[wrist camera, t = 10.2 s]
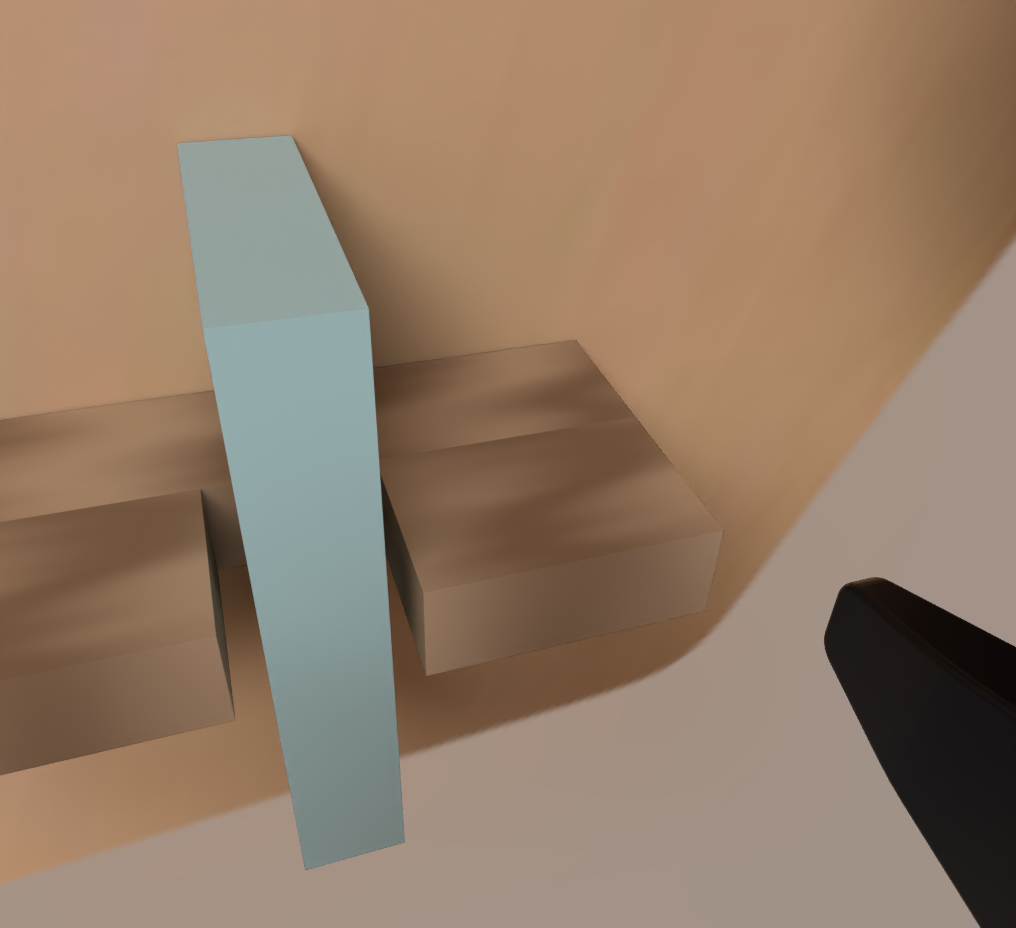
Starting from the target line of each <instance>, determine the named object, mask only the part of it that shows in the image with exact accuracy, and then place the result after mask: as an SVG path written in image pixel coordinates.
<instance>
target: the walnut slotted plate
mask: <svg viewBox="0 0 1016 928" xmlns="http://www.w3.org/2000/svg"><path fill="white" fill-rule="evenodd" d="M373 378H374V393H375V408H376V422H377V437H378V452H379V467H380V482H381V497H382V512H383V526H384V541H385V553H386V556H387V559H388V562H389V565H390V568H391V571H392V574H393V577H394V580H395V583H396V586H397V589H398V592H399V595H400V598H401V601H402V604H403V607H404V610H405V613H406V616H407V619H408V622H409V625H410V628H411V631H412V634H413V637H414V640H415V643H416V646H417V650H418V653H419V656H420V659H421V662H422V665H423V668H424V671H425V674H426V676H429V675H433V674H437V673H442V672H446V671H450V670H455V669H459V668H463V667H467V666H472V665H476V664H480V663H485V662H489V661H493V660H498V659H502V658H506V657H510V656H515V655H519V654H523V653H528V652H532V651H536V650H540V649H545V648H549V647H553V646H558V645H562V644H566V643H571V642H575V641H579V640H583V639H588V638H592V637H596V636H601V635H605V634H609V633H613V632H618V631H622V630H626V629H631V628H635V627H639V626H644V625H648V624H652V623H656V622H661V621H665V620H669V619H674V618H678V617H682V616H687V615H691V614H695V613H699V612H704V611H706V607H707V603H708V598H709V594H710V589H711V585H712V581H713V576H714V572H715V567H716V563H717V558H718V554H719V549H720V545H721V540H722V536H723V532H724V530H723V529H722V528H721V526H720V525H719V524H718V522H717V521H716V520H715V519H714V517H713V516H712V515H711V513H710V512H709V511H708V510H707V508H706V507H705V506H704V504H703V503H702V502H701V501H700V499H699V498H698V497H697V495H696V494H695V493H694V492H693V490H692V489H691V488H690V486H689V485H688V484H687V482H686V481H685V480H684V479H683V477H682V476H681V475H680V473H679V472H678V471H677V470H676V468H675V467H674V466H673V464H672V463H671V462H670V461H669V459H668V458H667V457H666V455H665V454H664V453H663V452H662V450H661V449H660V448H659V446H658V445H657V444H656V443H655V441H654V440H653V439H652V437H651V436H650V435H649V434H648V432H647V431H646V430H645V428H644V427H643V426H642V425H641V423H640V422H639V421H638V419H637V418H636V417H635V416H634V414H633V413H632V412H631V410H630V409H629V408H628V407H627V405H626V404H625V403H624V401H623V400H622V399H621V397H620V396H619V395H618V394H617V392H616V391H615V390H614V388H613V387H612V386H611V385H610V383H609V382H608V381H607V379H606V378H605V377H604V376H603V374H602V373H601V372H600V370H599V369H598V368H597V367H596V365H595V364H594V363H593V361H592V360H591V359H590V358H589V356H588V355H587V354H586V352H585V351H584V350H583V349H582V347H581V346H580V345H579V343H578V342H577V341H576V340H574V341H567V342H560V343H553V344H545V345H538V346H531V347H524V348H517V349H509V350H502V351H495V352H488V353H481V354H473V355H466V356H459V357H452V358H445V359H437V360H430V361H423V362H416V363H409V364H401V365H394V366H387V367H380V368H373ZM242 565H247V560H246V555H245V550H244V544H243V539H242V534H241V528H240V523H239V518H238V513H237V507H236V502H235V497H234V492H233V486H232V481H231V476H230V470H229V465H228V460H227V455H226V449H225V444H224V439H223V433H222V428H221V423H220V418H219V412H218V407H217V402H216V396H215V391H207V392H200V393H192V394H185V395H178V396H171V397H164V398H156V399H149V400H142V401H135V402H128V403H120V404H113V405H106V406H99V407H92V408H84V409H77V410H70V411H63V412H56V413H48V414H41V415H34V416H27V417H20V418H12V419H5V420H0V775H4V774H8V773H12V772H17V771H21V770H25V769H29V768H34V767H38V766H42V765H47V764H51V763H55V762H59V761H64V760H68V759H72V758H77V757H81V756H85V755H90V754H94V753H98V752H102V751H107V750H111V749H115V748H120V747H124V746H128V745H132V744H137V743H141V742H145V741H150V740H154V739H158V738H163V737H167V736H171V735H175V734H180V733H184V732H188V731H193V730H197V729H201V728H205V727H210V726H214V725H218V724H223V723H227V722H231V721H235V713H234V704H233V696H232V687H231V679H230V670H229V662H228V653H227V645H226V636H225V628H224V619H223V611H222V602H221V594H220V585H219V577H218V570H221V569H226V568H232V567H237V566H242Z"/></svg>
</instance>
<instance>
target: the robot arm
mask: <svg viewBox="0 0 1016 928" xmlns="http://www.w3.org/2000/svg"><path fill="white" fill-rule="evenodd" d="M824 644H825V650H826V654H827V657H828V659H829V661H830V663H831V665H832V667H833V670H834V671H835V674H836V676H837V678H838V679H839V682H840V683H841V686H842V688H843V690H844V692H845V694H846V696H847V698H848V700H849V702H850V704H851V706H852V708H853V710H854V712H855V714H856V716H857V718H858V720H859V722H860V724H861V726H862V728H863V730H864V732H865V734H866V736H867V738H868V740H869V742H870V744H871V746H872V748H873V750H874V752H875V754H876V756H877V758H878V760H879V762H880V764H881V766H882V768H883V770H884V771H885V774H886V776H887V777H888V779H889V781H890V783H891V784H892V786H893V788H894V789H895V791H896V793H897V795H898V796H899V798H900V799H901V801H902V803H903V805H904V806H905V808H906V810H907V811H908V813H909V814H910V816H911V817H912V819H913V821H914V822H915V824H916V825H917V827H918V829H919V830H920V832H921V834H922V835H923V837H924V838H925V840H926V841H927V843H928V845H929V846H930V848H931V849H932V851H933V853H934V854H935V856H936V858H937V859H938V861H939V862H940V864H941V865H942V867H943V869H944V870H945V872H946V874H947V875H948V877H949V878H950V880H951V881H952V883H953V885H954V886H955V888H956V889H957V891H958V893H959V894H960V896H961V897H962V899H963V901H964V902H965V904H966V906H967V907H968V909H969V910H970V912H971V913H972V915H973V917H974V918H975V920H976V922H977V923H978V925H979V926H980V928H1016V647H1015V646H1013V645H1011V644H1009V643H1007V642H1005V641H1003V640H1001V639H999V638H997V637H996V636H993V635H992V634H990V633H988V632H986V631H984V630H982V629H980V628H978V627H976V626H974V625H972V624H971V623H969V622H967V621H965V620H963V619H961V618H959V617H957V616H955V615H953V614H951V613H950V612H948V611H946V610H944V609H942V608H940V607H938V606H936V605H934V604H932V603H931V602H929V601H926V600H925V599H923V598H921V597H919V596H917V595H915V594H913V593H911V592H909V591H908V590H906V589H904V588H902V587H900V586H898V585H896V584H894V583H892V582H890V581H888V580H886V579H883V578H878V577H873V578H867V579H863V580H859V581H855V582H850V583H848V584H845V585H844V586H843V587H842V588H841V589H840V591H839V593H838V596H837V599H836V602H835V605H834V608H833V611H832V614H831V617H830V620H829V623H828V626H827V629H826V631H825V636H824Z"/></svg>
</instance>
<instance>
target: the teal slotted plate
mask: <svg viewBox="0 0 1016 928" xmlns="http://www.w3.org/2000/svg"><path fill="white" fill-rule="evenodd" d="M177 149H178V156H179V163H180V170H181V177H182V185H183V192H184V199H185V206H186V213H187V220H188V227H189V235H190V242H191V249H192V256H193V263H194V270H195V277H196V285H197V292H198V299H199V306H200V313H201V320H202V327H203V333H204V338H205V344H206V349H207V354H208V360H209V365H210V370H211V375H212V381H213V386H214V391H215V396H216V402H217V407H218V412H219V418H220V423H221V428H222V433H223V439H224V444H225V449H226V455H227V460H228V465H229V470H230V476H231V481H232V486H233V492H234V497H235V502H236V507H237V513H238V518H239V523H240V528H241V534H242V539H243V544H244V550H245V555H246V560H247V565H248V571H249V576H250V581H251V587H252V592H253V597H254V602H255V608H256V613H257V618H258V624H259V629H260V634H261V639H262V645H263V650H264V655H265V660H266V666H267V671H268V676H269V682H270V687H271V692H272V697H273V703H274V708H275V713H276V719H277V724H278V729H279V734H280V740H281V745H282V750H283V756H284V761H285V766H286V771H287V777H288V782H289V787H290V792H291V798H292V803H293V808H294V814H295V818H296V824H297V829H298V835H299V840H300V845H301V851H302V856H303V861H304V866H305V870H308V869H312V868H315V867H319V866H323V865H326V864H329V863H333V862H336V861H340V860H344V859H347V858H351V857H355V856H358V855H361V854H365V853H368V852H372V851H376V850H379V849H383V848H386V847H390V846H394V845H397V844H401V843H404V842H405V838H404V824H403V808H402V793H401V779H400V764H399V749H398V734H397V719H396V704H395V690H394V675H393V660H392V645H391V630H390V615H389V601H388V586H387V571H386V556H385V541H384V526H383V512H382V497H381V482H380V467H379V452H378V437H377V422H376V408H375V393H374V378H373V363H372V348H371V333H370V319H369V308H368V306H367V303H366V301H365V299H364V297H363V294H362V292H361V290H360V288H359V285H358V283H357V281H356V279H355V276H354V274H353V272H352V270H351V267H350V265H349V263H348V261H347V258H346V256H345V254H344V252H343V249H342V247H341V245H340V243H339V241H338V238H337V236H336V234H335V232H334V229H333V227H332V225H331V223H330V220H329V218H328V216H327V214H326V211H325V209H324V207H323V205H322V202H321V200H320V198H319V196H318V193H317V191H316V189H315V187H314V184H313V182H312V180H311V178H310V175H309V173H308V171H307V169H306V166H305V164H304V162H303V160H302V157H301V155H300V153H299V151H298V148H297V146H296V144H295V142H294V139H293V137H292V135H289V136H275V137H261V138H246V139H232V140H218V141H204V142H189V143H177Z"/></svg>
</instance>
